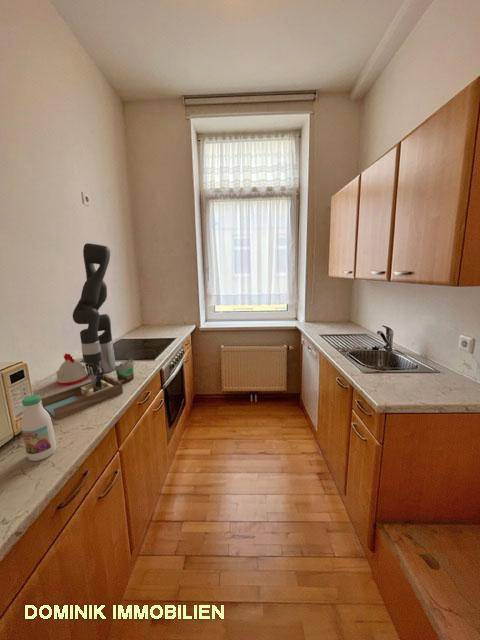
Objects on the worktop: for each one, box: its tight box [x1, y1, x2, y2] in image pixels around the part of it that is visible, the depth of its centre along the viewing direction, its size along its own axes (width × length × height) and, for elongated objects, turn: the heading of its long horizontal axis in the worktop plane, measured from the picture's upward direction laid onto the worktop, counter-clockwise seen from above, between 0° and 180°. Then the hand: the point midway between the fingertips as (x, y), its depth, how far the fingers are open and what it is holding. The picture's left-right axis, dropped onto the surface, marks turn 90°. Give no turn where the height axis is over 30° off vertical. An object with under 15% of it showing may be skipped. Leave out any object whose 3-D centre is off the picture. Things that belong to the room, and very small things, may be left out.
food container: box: [114, 357, 135, 384], centre depth 142 cm, size 12×6×10 cm, turn 168°
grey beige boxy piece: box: [80, 373, 113, 396], centre depth 126 cm, size 12×10×9 cm
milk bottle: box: [21, 394, 57, 462], centre depth 85 cm, size 8×8×20 cm
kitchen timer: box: [56, 352, 88, 387], centre depth 144 cm, size 14×14×15 cm
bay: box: [41, 374, 124, 421], centre depth 122 cm, size 16×28×6 cm, turn 142°
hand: (96, 385), depth 126 cm, fingers closed on grey beige boxy piece, 3 cm apart
